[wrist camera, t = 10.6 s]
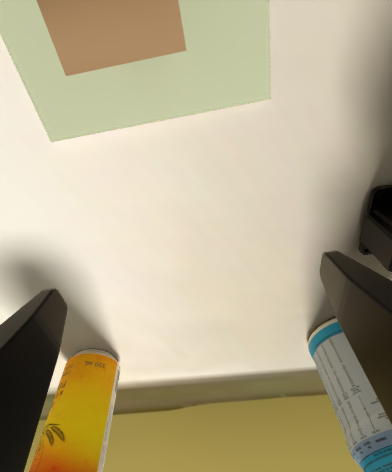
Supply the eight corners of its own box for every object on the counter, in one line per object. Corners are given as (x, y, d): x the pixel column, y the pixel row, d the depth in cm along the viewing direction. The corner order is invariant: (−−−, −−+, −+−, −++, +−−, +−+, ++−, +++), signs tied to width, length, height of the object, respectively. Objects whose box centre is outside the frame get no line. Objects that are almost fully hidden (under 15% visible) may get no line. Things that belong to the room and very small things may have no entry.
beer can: (62, 346, 31) (-12, 546, 19) (118, 345, 32) (81, 540, 19) (74, 375, 35) (17, 559, 22) (123, 374, 35) (94, 554, 23)
